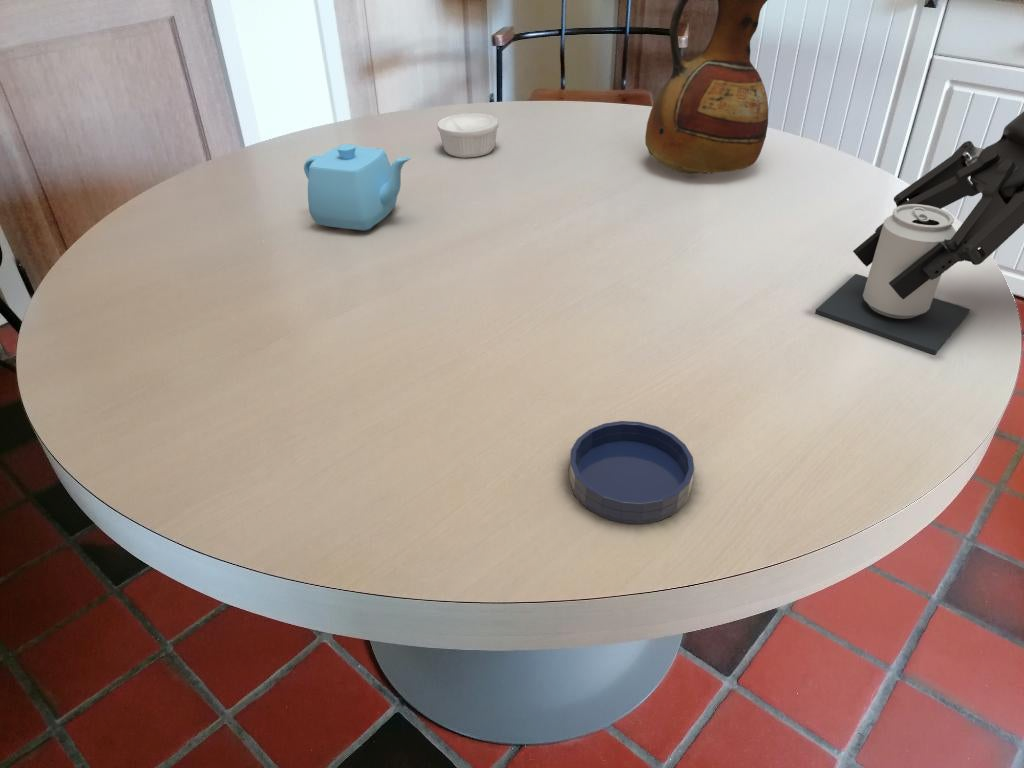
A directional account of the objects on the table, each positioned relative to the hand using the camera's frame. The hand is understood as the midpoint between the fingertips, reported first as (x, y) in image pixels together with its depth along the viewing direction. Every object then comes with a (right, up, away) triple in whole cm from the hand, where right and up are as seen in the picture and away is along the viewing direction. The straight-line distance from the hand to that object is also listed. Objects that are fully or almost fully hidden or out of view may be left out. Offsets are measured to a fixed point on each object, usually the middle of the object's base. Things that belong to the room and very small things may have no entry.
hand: (877, 274), depth 88 cm
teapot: (-66, +13, +29) cm, 73 cm away
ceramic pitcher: (-9, +26, +45) cm, 53 cm away
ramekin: (-51, +31, +54) cm, 81 cm away
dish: (-32, -22, -19) cm, 43 cm away
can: (+4, -4, +3) cm, 6 cm away
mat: (+4, -4, +4) cm, 7 cm away
